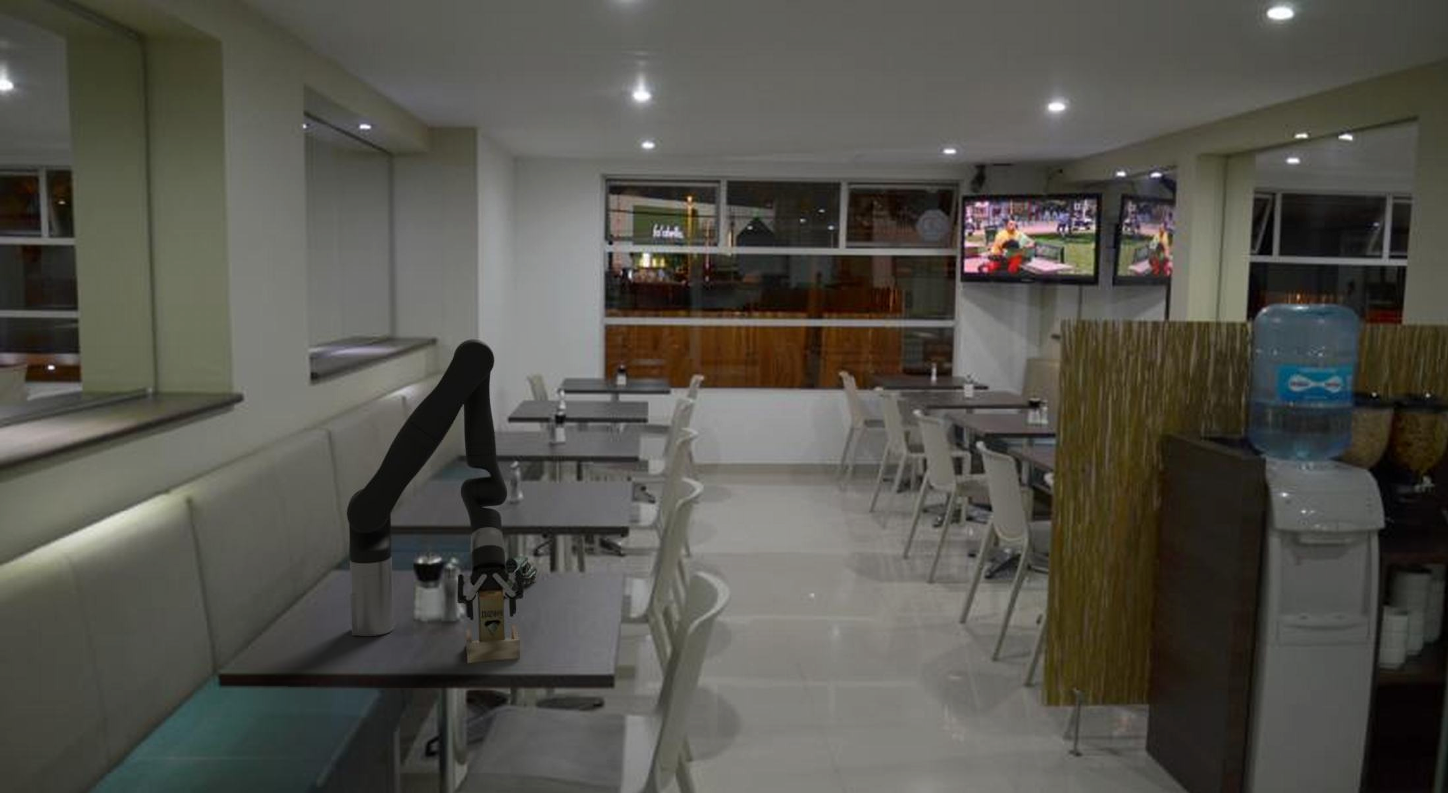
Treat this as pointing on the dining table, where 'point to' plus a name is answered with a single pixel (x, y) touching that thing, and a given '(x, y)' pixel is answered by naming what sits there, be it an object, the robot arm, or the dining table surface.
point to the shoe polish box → (491, 615)
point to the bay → (493, 648)
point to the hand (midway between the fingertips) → (491, 616)
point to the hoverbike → (521, 569)
